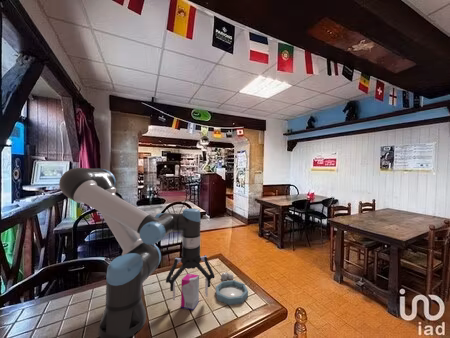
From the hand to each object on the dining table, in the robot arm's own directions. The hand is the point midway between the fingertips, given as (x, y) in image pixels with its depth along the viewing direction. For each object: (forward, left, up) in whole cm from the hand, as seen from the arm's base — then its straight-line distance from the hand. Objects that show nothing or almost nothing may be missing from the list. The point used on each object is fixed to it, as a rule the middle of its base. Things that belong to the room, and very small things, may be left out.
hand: (190, 296), depth 82 cm
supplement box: (0, 0, -4) cm, 4 cm away
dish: (+19, +4, -3) cm, 20 cm away
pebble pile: (+20, +18, -3) cm, 27 cm away
